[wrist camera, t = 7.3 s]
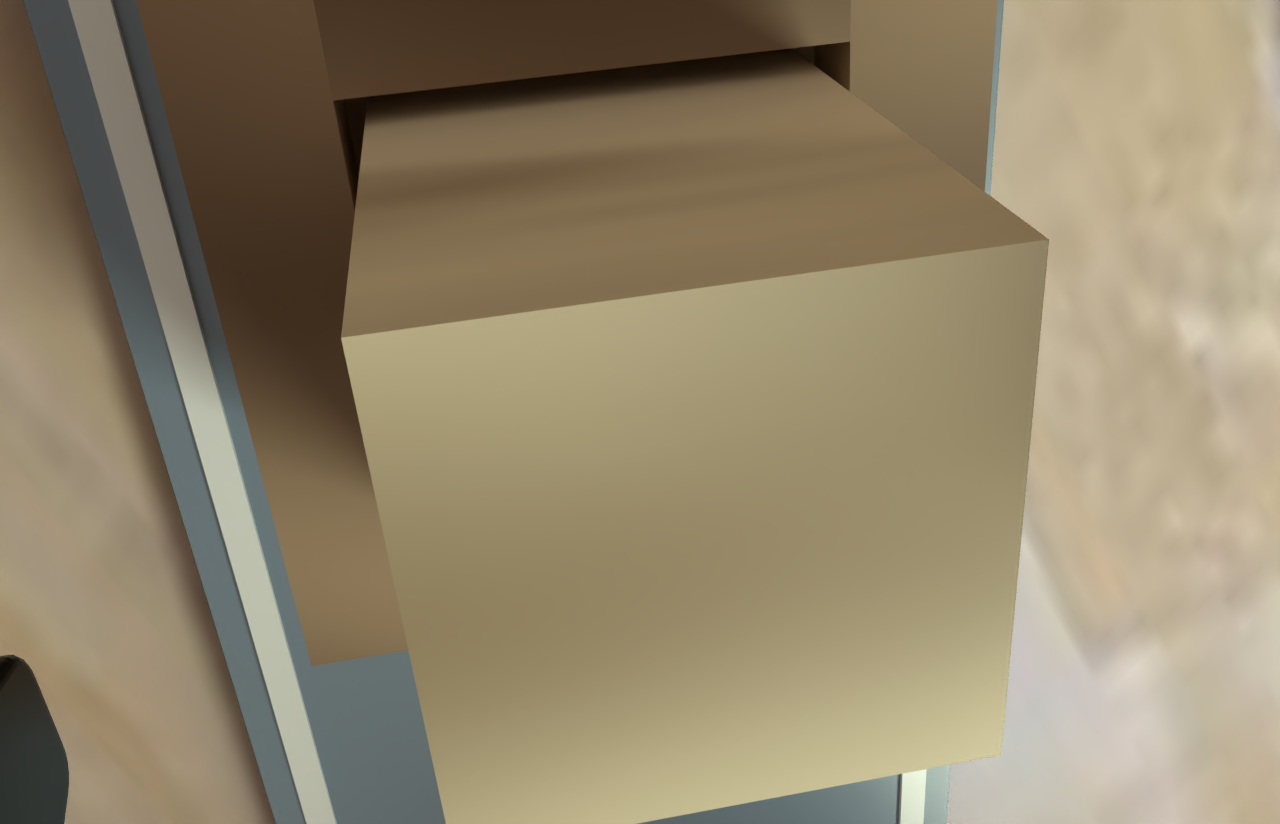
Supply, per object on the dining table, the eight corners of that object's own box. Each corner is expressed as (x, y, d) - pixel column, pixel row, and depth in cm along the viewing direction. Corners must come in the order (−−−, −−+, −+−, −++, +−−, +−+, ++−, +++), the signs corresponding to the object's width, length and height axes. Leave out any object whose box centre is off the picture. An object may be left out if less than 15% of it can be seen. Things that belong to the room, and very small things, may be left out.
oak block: (796, 413, 15) (1000, 755, 10) (435, 469, 15) (452, 858, 9) (790, 47, 13) (1047, 239, 8) (367, 97, 12) (342, 337, 7)
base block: (832, 375, 20) (959, 558, 15) (334, 448, 19) (311, 666, 14) (835, -169, 16) (1008, -140, 11) (207, -111, 15) (120, -54, 10)
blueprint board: (925, 894, 27) (941, 926, 27) (344, 1008, 26) (343, 1048, 25) (996, -271, 16) (1026, -272, 16) (-13, -185, 15) (-36, -182, 14)
